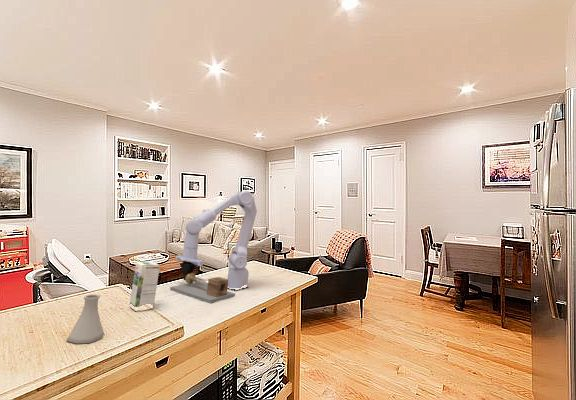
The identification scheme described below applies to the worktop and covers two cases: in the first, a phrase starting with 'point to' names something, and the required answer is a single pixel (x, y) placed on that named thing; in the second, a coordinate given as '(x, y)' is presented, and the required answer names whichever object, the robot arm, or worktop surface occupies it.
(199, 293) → the base board
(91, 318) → the flask
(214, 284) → the block
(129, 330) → the worktop surface
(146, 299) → the syrup box
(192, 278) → the shaft
